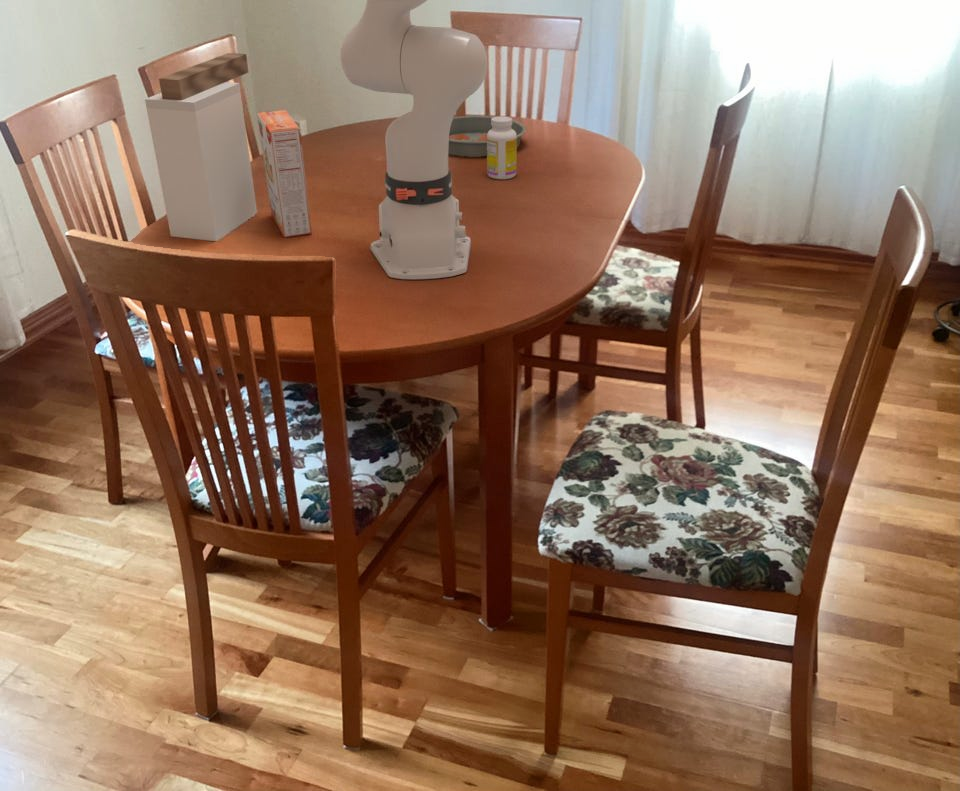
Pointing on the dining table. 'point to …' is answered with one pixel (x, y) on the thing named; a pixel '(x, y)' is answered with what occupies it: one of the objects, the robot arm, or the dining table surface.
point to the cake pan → (475, 135)
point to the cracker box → (285, 172)
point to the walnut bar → (203, 76)
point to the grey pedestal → (203, 161)
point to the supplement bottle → (501, 149)
